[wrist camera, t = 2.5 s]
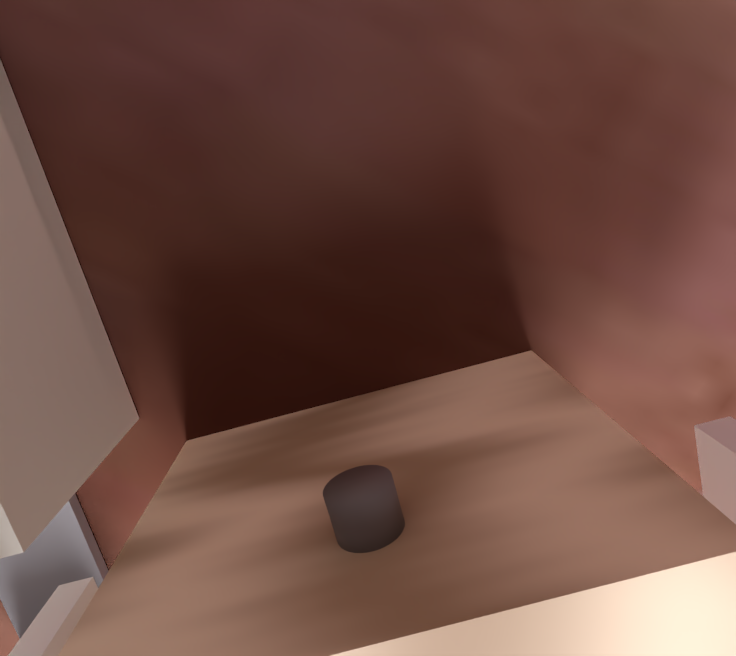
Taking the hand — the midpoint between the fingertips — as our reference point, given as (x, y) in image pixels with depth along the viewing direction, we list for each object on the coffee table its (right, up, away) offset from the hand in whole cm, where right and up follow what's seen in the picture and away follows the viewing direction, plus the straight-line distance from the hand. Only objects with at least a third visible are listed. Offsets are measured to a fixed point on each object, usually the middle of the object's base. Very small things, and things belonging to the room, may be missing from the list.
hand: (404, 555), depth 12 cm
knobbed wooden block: (-1, +1, +4) cm, 5 cm away
